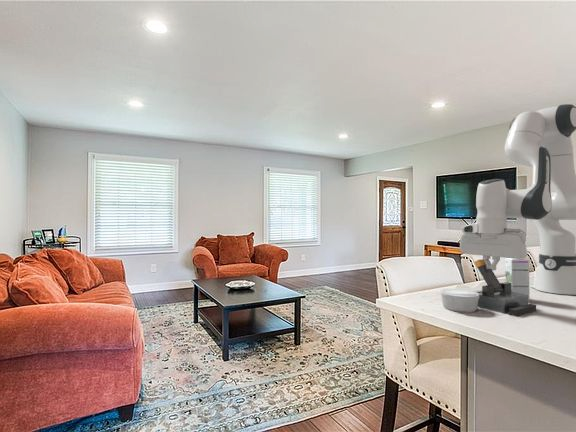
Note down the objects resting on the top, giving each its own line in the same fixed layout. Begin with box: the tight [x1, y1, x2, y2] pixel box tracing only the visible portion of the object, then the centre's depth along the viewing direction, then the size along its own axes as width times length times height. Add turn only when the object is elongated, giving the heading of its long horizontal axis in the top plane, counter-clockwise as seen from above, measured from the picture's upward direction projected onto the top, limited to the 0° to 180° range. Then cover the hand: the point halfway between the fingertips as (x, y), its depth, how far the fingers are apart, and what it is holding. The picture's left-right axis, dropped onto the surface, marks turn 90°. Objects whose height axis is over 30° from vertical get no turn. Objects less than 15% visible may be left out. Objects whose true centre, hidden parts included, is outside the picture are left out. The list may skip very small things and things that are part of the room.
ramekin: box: [439, 288, 480, 313], centre depth 111 cm, size 11×11×5 cm
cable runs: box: [508, 303, 537, 317], centre depth 115 cm, size 13×22×2 cm, turn 31°
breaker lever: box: [473, 258, 503, 293], centre depth 116 cm, size 5×2×11 cm
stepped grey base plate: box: [473, 281, 529, 314], centre depth 114 cm, size 14×12×7 cm
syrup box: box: [504, 258, 531, 302], centre depth 124 cm, size 6×6×14 cm
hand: (491, 269), depth 116 cm, fingers closed
